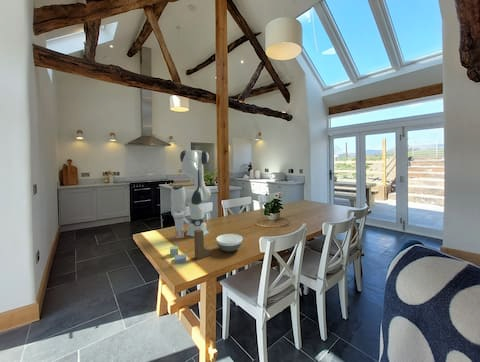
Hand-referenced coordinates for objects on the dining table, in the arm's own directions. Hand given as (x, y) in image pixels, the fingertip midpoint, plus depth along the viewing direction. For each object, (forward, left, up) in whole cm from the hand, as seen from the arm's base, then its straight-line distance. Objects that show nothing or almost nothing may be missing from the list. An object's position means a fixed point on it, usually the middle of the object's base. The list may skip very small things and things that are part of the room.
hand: (179, 233), depth 141 cm
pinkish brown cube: (0, 0, -2) cm, 2 cm away
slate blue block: (0, 0, -18) cm, 18 cm away
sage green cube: (-10, -4, -18) cm, 21 cm away
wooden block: (-3, +14, -18) cm, 23 cm away
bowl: (-9, +33, -18) cm, 39 cm away
